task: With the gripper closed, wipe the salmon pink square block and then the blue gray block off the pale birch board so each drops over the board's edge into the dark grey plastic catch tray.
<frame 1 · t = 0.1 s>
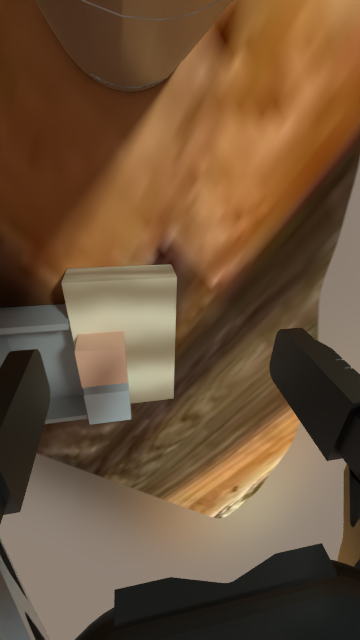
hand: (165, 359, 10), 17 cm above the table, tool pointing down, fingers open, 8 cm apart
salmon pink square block: (103, 350, 27), point 3 cm above the table, touching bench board
blue gray block: (109, 388, 29), point 3 cm above the table, touching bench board
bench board: (126, 332, 30), on the table
catch tray: (47, 356, 29), on the table
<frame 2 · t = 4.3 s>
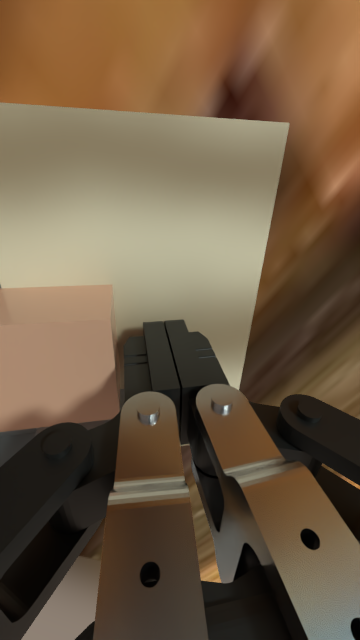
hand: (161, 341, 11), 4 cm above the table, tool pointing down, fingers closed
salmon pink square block: (62, 335, 11), point 3 cm above the table, touching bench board, gripper
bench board: (138, 301, 14), on the table
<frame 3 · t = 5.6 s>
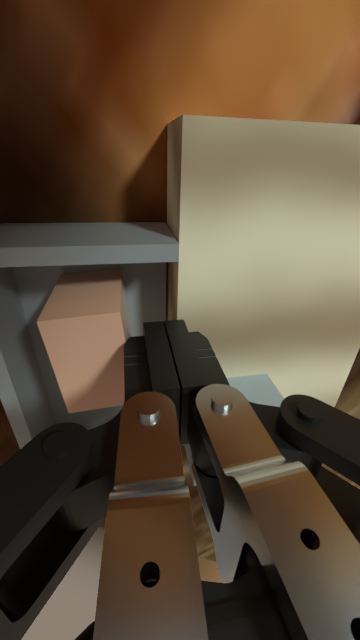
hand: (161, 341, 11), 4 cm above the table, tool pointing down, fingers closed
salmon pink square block: (128, 331, 12), point 3 cm above the table, tilted 91°, touching catch tray, gripper
blue gray block: (223, 407, 14), point 3 cm above the table, touching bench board
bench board: (253, 295, 15), on the table
catch tray: (97, 343, 15), on the table
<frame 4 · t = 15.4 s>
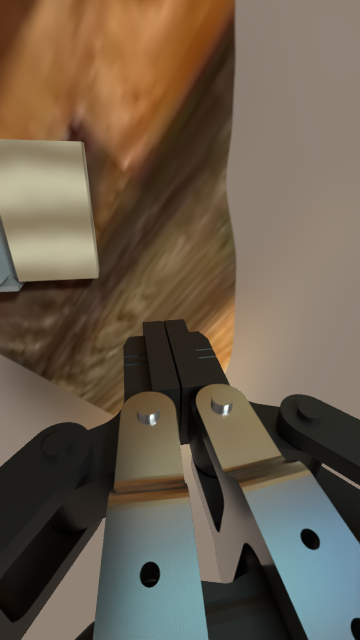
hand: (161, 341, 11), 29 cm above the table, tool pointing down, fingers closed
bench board: (52, 213, 34), on the table
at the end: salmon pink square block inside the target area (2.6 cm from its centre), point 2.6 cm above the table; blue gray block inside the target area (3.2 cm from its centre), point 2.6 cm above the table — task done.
